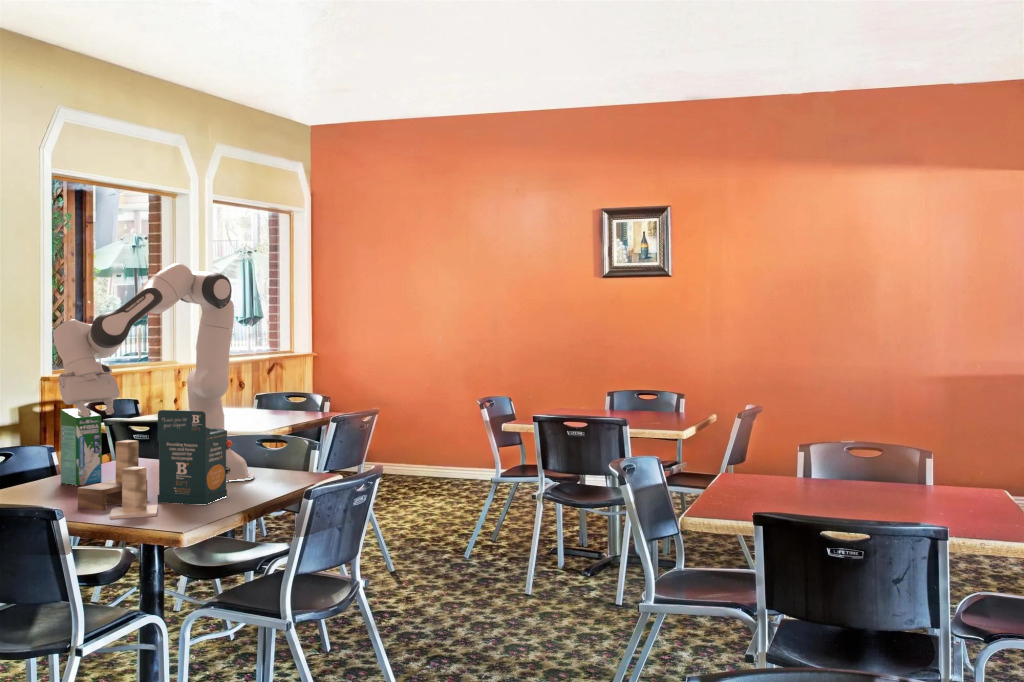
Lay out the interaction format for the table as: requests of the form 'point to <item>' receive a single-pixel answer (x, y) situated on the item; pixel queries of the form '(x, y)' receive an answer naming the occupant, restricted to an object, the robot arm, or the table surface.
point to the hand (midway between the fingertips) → (99, 415)
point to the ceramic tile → (119, 513)
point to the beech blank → (125, 456)
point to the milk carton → (80, 447)
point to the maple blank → (134, 489)
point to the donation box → (190, 458)
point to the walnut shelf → (100, 495)
